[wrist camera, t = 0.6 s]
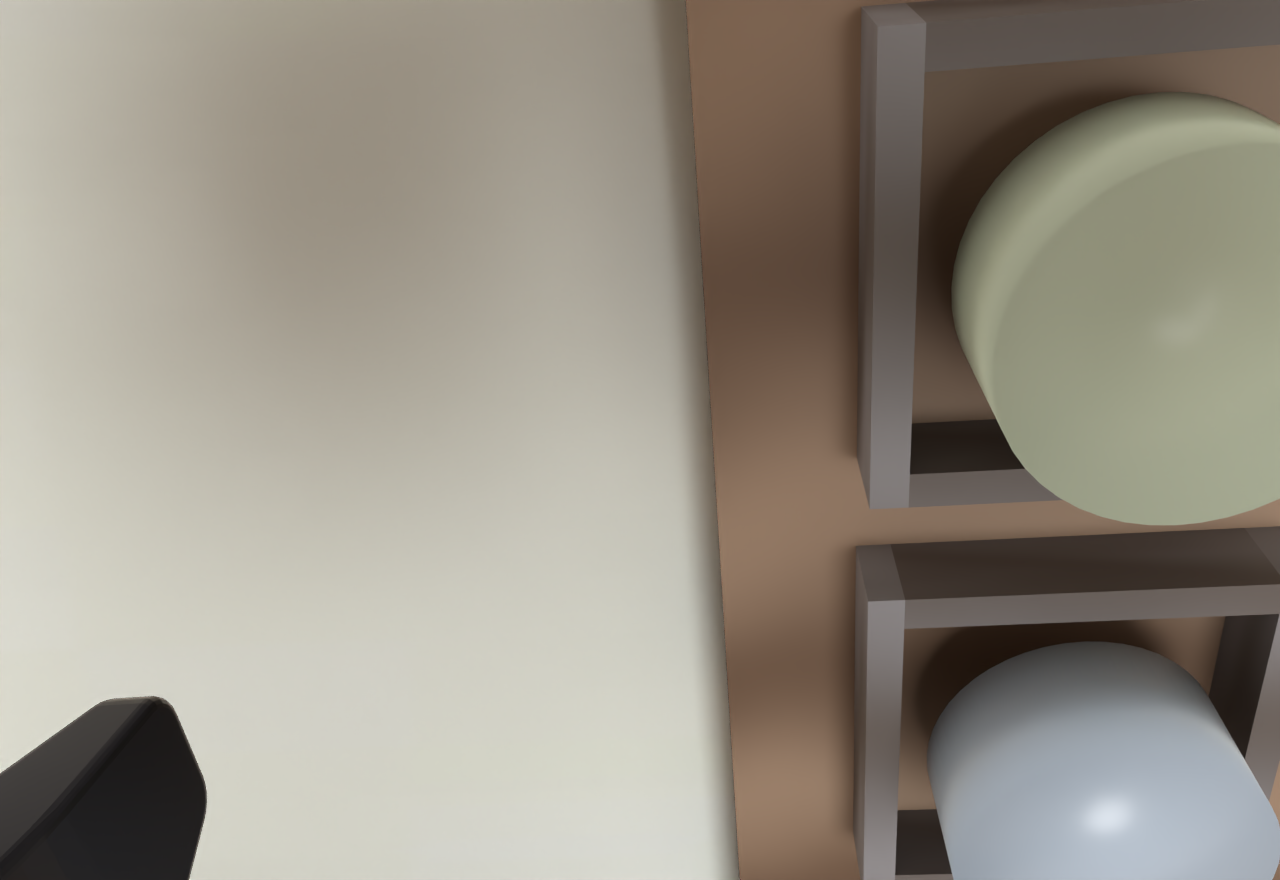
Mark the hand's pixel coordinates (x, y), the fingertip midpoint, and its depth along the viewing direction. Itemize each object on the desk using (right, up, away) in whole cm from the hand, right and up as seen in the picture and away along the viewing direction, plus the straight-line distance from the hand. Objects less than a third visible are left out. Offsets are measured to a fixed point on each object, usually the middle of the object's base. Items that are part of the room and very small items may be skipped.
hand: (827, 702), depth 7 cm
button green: (+6, +4, +8) cm, 11 cm away
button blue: (+6, -4, +13) cm, 15 cm away
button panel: (+7, -2, +16) cm, 17 cm away
